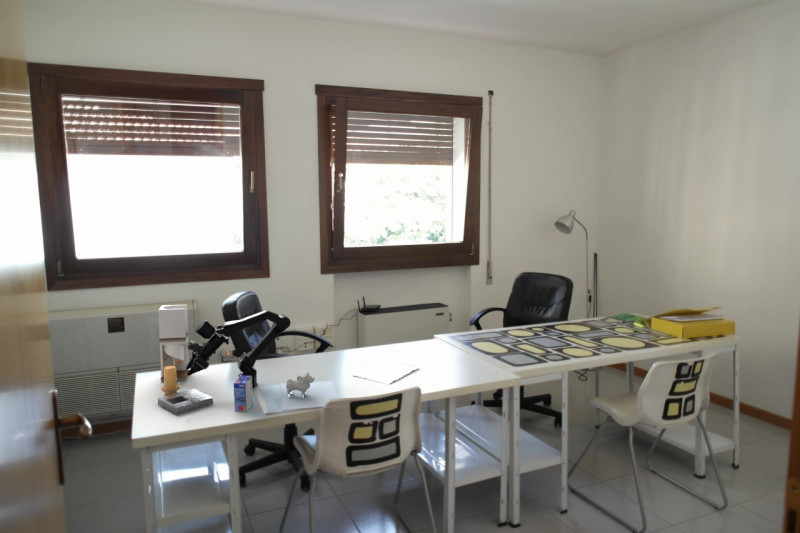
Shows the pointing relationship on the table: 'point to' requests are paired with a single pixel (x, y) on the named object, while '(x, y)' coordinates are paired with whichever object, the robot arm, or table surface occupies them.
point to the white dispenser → (174, 339)
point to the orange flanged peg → (170, 381)
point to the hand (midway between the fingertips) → (186, 372)
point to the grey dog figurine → (300, 383)
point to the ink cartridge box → (243, 393)
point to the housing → (185, 401)
